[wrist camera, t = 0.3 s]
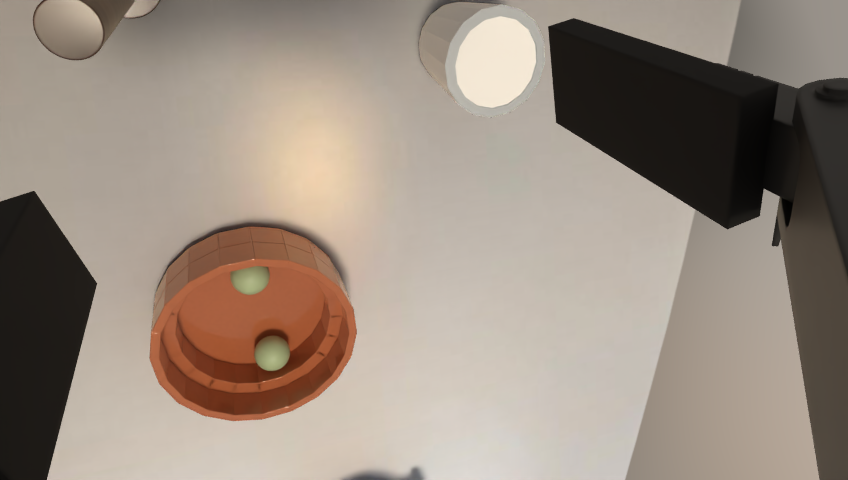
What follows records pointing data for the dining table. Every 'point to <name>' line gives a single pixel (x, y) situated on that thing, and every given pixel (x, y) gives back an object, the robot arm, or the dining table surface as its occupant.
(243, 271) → the bead
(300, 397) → the bowl
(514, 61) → the white cup
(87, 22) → the stick
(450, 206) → the dining table surface
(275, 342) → the bead
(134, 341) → the dining table surface
